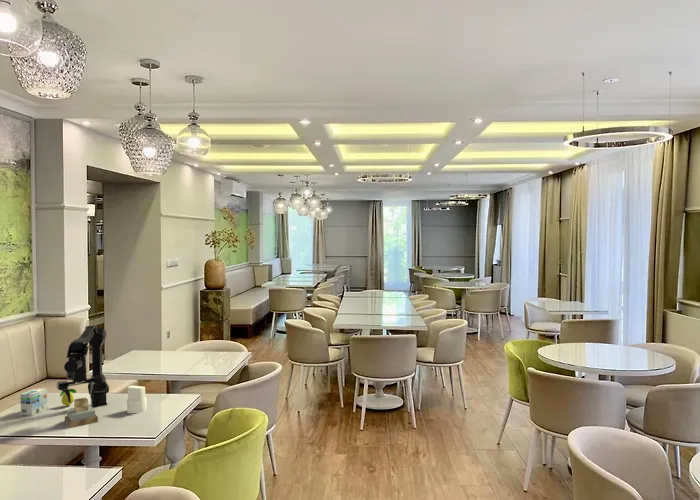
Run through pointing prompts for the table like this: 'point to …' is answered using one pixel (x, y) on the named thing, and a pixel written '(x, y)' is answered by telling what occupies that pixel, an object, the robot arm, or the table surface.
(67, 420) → the walnut slab
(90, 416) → the slate slab
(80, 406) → the oak cube
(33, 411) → the light bulb box
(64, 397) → the lemon
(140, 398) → the cylinder with rectangular tab
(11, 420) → the table surface
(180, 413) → the table surface
